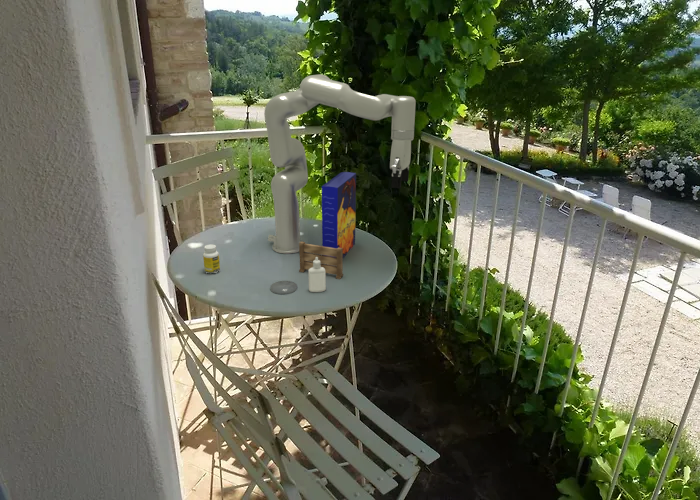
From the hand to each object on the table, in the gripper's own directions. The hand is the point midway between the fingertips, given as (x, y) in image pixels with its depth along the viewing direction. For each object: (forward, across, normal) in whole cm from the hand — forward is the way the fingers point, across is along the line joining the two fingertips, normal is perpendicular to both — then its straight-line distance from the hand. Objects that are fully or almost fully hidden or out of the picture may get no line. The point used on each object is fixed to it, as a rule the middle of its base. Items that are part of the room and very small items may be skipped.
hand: (400, 184), depth 175 cm
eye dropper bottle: (+31, +29, -19) cm, 47 cm away
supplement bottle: (+31, +30, -60) cm, 74 cm away
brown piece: (+31, +17, -23) cm, 42 cm away
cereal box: (+32, -3, -24) cm, 40 cm away
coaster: (+31, +32, -30) cm, 54 cm away
